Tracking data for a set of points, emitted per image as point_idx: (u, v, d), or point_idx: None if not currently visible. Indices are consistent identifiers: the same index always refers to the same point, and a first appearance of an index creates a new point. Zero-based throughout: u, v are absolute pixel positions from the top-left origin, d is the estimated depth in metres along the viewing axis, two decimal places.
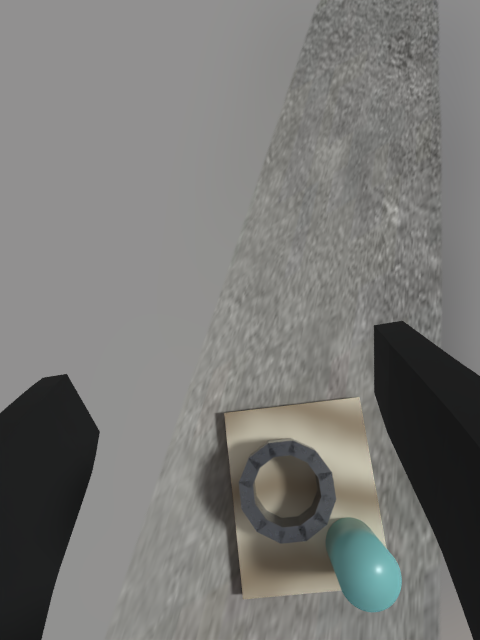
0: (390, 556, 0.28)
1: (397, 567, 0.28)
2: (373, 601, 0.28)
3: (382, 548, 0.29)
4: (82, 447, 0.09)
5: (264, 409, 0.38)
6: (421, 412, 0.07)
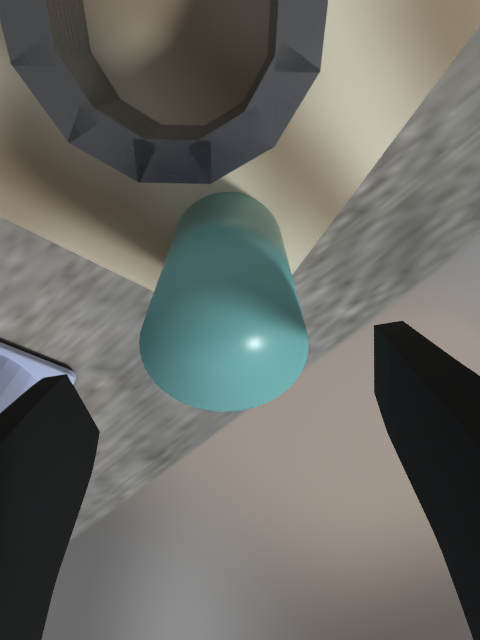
0: (303, 348, 0.10)
1: (297, 371, 0.11)
2: (196, 389, 0.11)
3: (301, 324, 0.10)
4: (82, 447, 0.09)
5: None
6: (421, 412, 0.07)
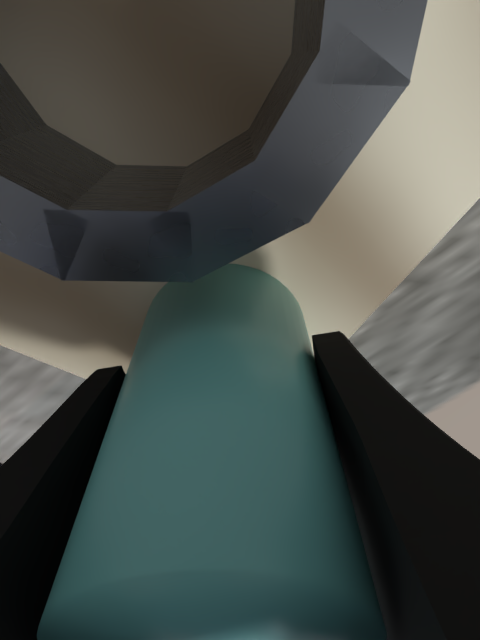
0: None
1: None
2: None
3: (376, 619, 0.05)
4: None
5: None
6: (341, 423, 0.07)
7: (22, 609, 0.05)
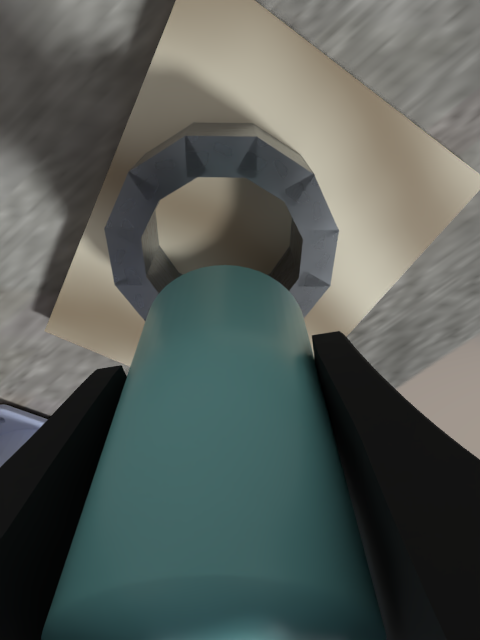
0: None
1: None
2: None
3: (375, 622, 0.05)
4: None
5: (298, 39, 0.13)
6: (341, 423, 0.07)
7: (22, 609, 0.05)
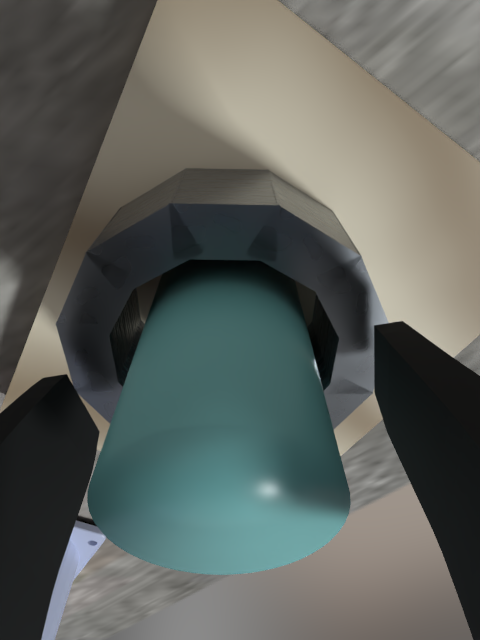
0: (342, 509, 0.07)
1: (330, 534, 0.07)
2: (178, 552, 0.07)
3: (341, 480, 0.06)
4: (82, 447, 0.09)
5: (337, 55, 0.09)
6: (421, 412, 0.07)
7: None
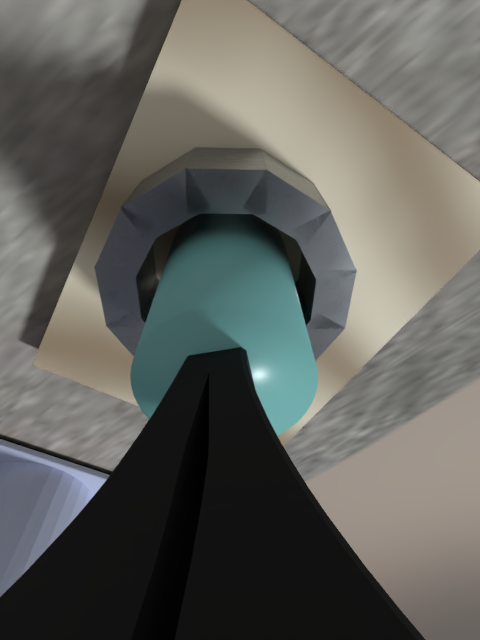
0: (312, 382, 0.09)
1: (305, 406, 0.10)
2: None
3: (310, 356, 0.09)
4: None
5: (313, 57, 0.12)
6: None
7: (183, 593, 0.05)
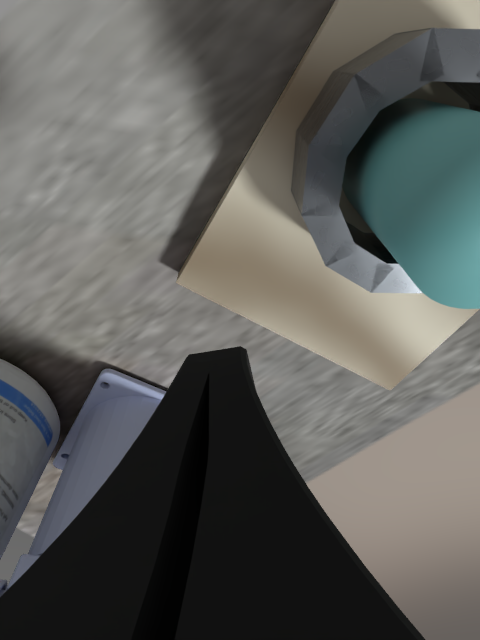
0: None
1: None
2: (449, 279, 0.10)
3: None
4: None
5: None
6: None
7: (184, 593, 0.05)
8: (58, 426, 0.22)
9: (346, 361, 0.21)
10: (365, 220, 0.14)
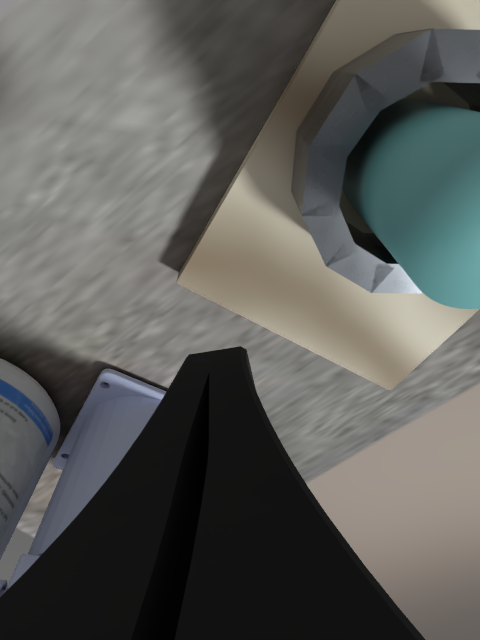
0: None
1: None
2: (449, 279, 0.10)
3: None
4: None
5: None
6: None
7: (184, 593, 0.05)
8: (58, 426, 0.22)
9: (346, 361, 0.21)
10: (365, 220, 0.14)
